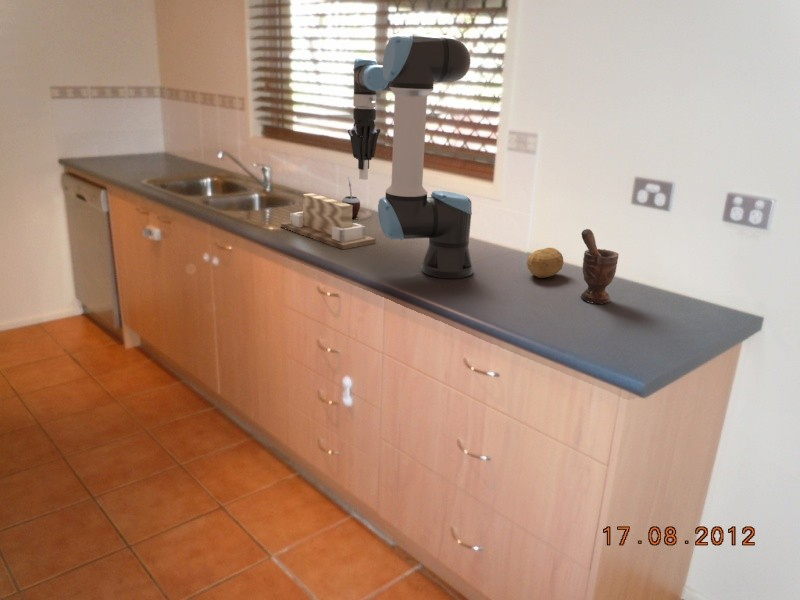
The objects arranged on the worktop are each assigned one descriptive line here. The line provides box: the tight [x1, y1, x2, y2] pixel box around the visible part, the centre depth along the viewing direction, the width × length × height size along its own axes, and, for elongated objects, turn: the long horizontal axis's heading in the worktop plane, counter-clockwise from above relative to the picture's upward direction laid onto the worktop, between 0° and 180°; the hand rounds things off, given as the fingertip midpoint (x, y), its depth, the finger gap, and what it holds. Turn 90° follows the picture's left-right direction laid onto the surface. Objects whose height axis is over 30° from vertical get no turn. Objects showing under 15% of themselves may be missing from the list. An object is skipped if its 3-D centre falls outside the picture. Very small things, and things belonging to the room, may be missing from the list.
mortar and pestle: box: [580, 228, 619, 304], centre depth 173 cm, size 12×9×20 cm
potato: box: [526, 247, 564, 279], centre depth 195 cm, size 10×14×8 cm
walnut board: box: [280, 221, 377, 250], centre depth 232 cm, size 36×14×2 cm, turn 43°
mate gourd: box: [341, 176, 361, 218], centre depth 257 cm, size 8×8×15 cm
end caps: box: [289, 211, 367, 242], centre depth 231 cm, size 30×10×4 cm, turn 43°
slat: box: [302, 192, 353, 235], centre depth 229 cm, size 24×4×11 cm, turn 40°
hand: (363, 178), depth 229 cm, fingers closed
